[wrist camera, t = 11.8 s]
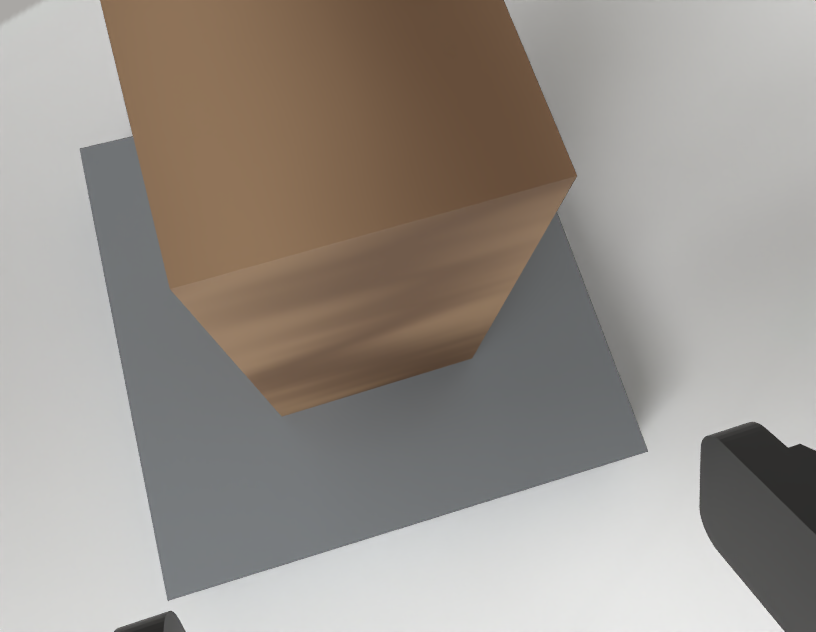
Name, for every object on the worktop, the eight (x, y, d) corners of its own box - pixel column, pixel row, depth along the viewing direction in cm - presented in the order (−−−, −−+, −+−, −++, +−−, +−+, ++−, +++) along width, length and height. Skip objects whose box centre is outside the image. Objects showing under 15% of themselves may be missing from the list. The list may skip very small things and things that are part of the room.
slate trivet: (189, 593, 18) (167, 601, 16) (106, 182, 21) (79, 148, 20) (621, 458, 20) (648, 451, 18) (485, 91, 23) (495, 51, 21)
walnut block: (281, 416, 18) (169, 288, 8) (232, 236, 19) (86, -58, 9) (472, 358, 18) (577, 175, 9) (412, 187, 20) (446, -136, 10)
